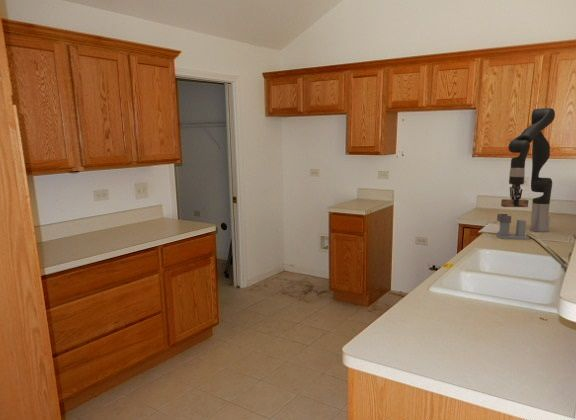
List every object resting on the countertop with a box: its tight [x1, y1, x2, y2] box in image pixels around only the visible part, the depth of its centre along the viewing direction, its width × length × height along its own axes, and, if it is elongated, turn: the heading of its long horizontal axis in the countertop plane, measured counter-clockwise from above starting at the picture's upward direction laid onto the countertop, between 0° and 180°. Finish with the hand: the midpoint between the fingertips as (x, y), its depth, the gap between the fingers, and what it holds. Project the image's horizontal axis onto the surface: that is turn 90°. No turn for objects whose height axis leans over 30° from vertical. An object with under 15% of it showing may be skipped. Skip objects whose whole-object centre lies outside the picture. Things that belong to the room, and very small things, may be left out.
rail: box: [500, 198, 529, 208], centre depth 236 cm, size 13×4×4 cm, turn 84°
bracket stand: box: [495, 213, 530, 240], centre depth 238 cm, size 15×8×13 cm, turn 79°
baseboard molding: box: [478, 221, 500, 235], centre depth 264 cm, size 31×3×12 cm
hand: (514, 205), depth 236 cm, fingers closed on rail, 4 cm apart
